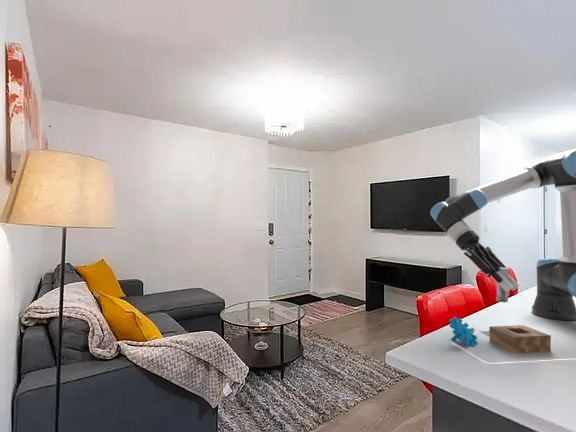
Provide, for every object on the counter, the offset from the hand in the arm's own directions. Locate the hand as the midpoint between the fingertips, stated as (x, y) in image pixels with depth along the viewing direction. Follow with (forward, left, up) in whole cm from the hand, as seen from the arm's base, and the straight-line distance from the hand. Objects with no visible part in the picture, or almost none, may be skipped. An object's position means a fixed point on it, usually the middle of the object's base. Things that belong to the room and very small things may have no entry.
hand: (512, 288), depth 114 cm
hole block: (+4, +7, -16) cm, 18 cm away
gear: (+18, +1, -17) cm, 25 cm away
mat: (+2, -3, -16) cm, 17 cm away
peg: (+1, -3, -5) cm, 6 cm away
